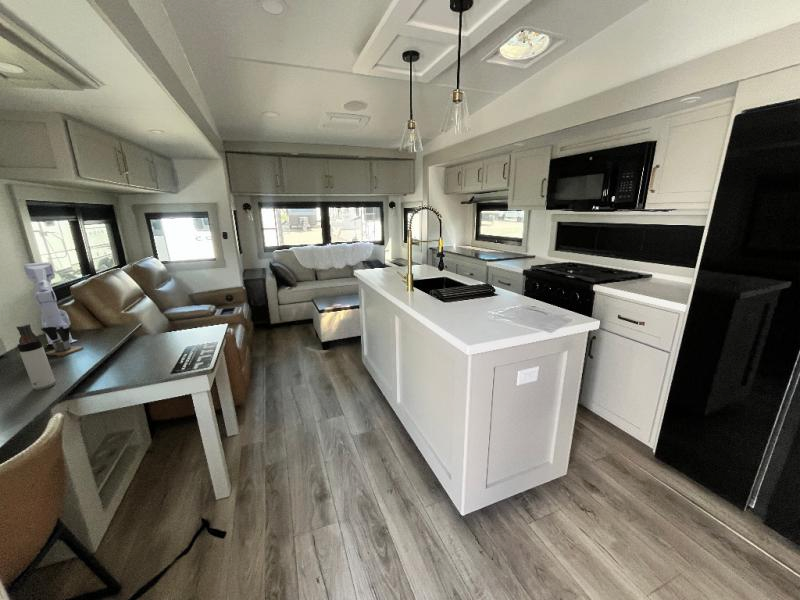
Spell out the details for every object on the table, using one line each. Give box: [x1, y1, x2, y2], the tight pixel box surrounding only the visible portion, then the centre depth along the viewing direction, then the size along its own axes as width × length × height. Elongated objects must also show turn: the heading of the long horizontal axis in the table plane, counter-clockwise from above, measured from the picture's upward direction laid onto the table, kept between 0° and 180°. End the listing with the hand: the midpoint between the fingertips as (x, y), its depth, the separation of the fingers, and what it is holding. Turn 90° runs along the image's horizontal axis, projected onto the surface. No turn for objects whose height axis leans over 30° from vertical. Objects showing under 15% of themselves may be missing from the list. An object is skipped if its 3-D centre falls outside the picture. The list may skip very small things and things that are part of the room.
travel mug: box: [16, 339, 57, 391], centre depth 129 cm, size 6×7×20 cm
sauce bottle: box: [16, 323, 41, 344], centre depth 147 cm, size 6×6×20 cm
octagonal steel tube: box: [52, 339, 72, 352], centre depth 162 cm, size 6×6×5 cm
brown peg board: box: [45, 341, 84, 357], centre depth 162 cm, size 12×9×6 cm
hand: (60, 340), depth 162 cm, fingers open, 7 cm apart
